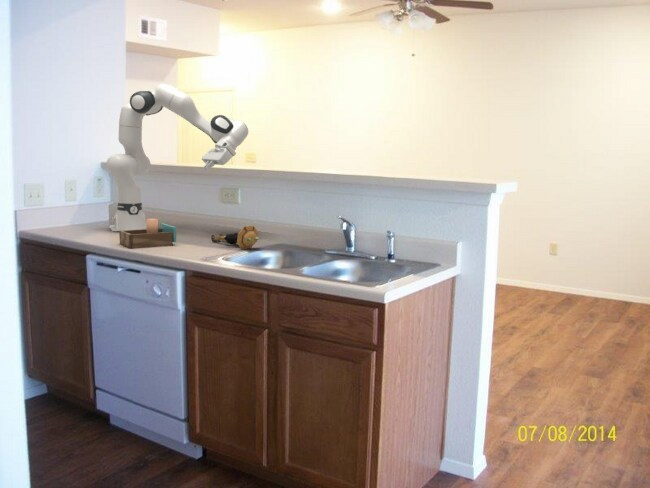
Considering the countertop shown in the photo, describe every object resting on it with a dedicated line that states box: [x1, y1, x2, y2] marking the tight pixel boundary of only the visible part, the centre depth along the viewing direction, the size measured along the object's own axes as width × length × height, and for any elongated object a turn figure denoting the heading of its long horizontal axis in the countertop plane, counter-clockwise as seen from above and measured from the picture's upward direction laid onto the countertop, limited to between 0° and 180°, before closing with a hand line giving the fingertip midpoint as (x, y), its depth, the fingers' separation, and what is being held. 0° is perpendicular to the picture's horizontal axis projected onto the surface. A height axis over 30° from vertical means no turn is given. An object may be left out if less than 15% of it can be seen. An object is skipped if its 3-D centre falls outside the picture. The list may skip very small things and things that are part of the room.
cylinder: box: [145, 217, 159, 233], centre depth 279 cm, size 5×5×9 cm
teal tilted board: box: [160, 223, 177, 243], centre depth 278 cm, size 15×19×7 cm
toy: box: [210, 225, 260, 250], centre depth 282 cm, size 18×10×30 cm
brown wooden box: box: [118, 227, 174, 249], centre depth 278 cm, size 14×19×6 cm
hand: (205, 169), depth 297 cm, fingers closed
